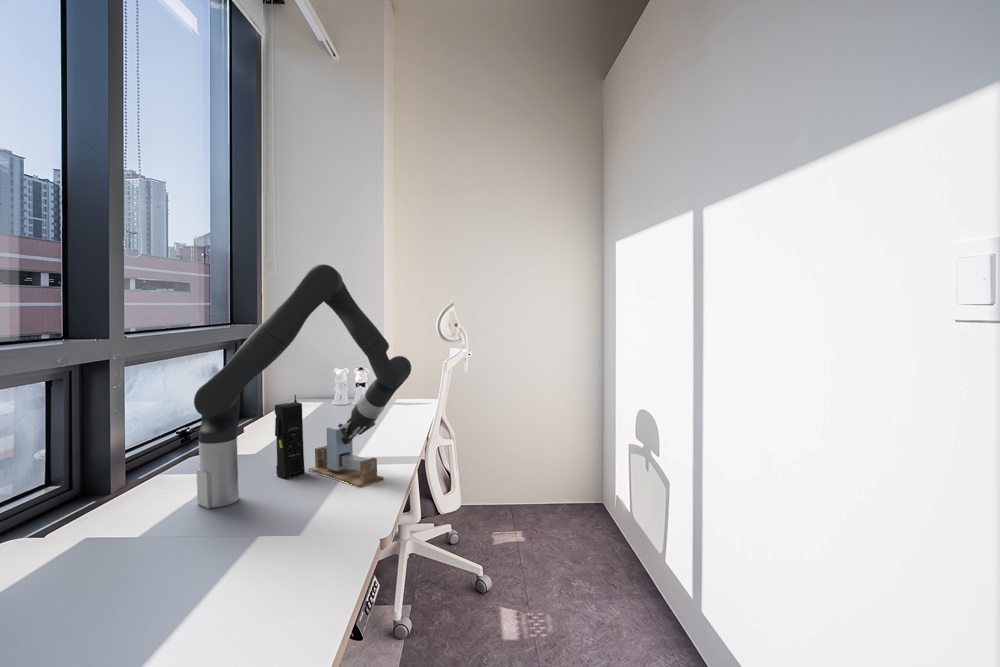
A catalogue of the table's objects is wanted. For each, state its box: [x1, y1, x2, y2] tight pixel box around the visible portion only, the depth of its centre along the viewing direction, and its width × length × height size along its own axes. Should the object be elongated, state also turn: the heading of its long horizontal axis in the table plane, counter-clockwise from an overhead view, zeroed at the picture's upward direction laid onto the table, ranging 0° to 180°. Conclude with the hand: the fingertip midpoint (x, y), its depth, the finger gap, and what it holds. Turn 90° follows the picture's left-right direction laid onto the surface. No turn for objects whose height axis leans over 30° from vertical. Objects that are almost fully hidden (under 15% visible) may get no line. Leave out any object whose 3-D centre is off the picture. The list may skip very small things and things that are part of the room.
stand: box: [308, 445, 384, 488], centre depth 170 cm, size 26×9×7 cm, turn 52°
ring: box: [323, 448, 327, 468], centre depth 174 cm, size 2×6×6 cm, turn 142°
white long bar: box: [320, 449, 374, 473], centre depth 170 cm, size 25×3×3 cm, turn 52°
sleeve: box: [326, 423, 354, 471], centre depth 172 cm, size 5×6×13 cm
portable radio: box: [274, 394, 306, 480], centre depth 169 cm, size 8×6×25 cm
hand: (345, 441), depth 169 cm, fingers closed
